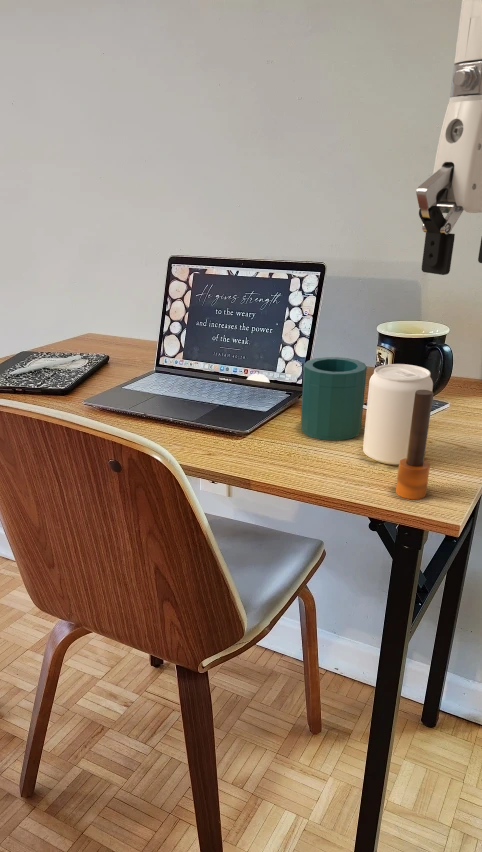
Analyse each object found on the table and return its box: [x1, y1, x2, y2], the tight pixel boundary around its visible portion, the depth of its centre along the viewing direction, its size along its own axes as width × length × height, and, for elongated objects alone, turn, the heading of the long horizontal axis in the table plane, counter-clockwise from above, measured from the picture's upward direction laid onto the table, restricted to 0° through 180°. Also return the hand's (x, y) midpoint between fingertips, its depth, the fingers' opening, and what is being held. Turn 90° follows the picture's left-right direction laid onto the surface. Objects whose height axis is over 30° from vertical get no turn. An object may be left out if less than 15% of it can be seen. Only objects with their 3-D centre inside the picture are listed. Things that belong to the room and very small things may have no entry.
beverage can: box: [362, 363, 434, 466], centre depth 93 cm, size 8×8×12 cm
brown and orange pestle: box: [395, 390, 434, 500], centre depth 82 cm, size 4×4×13 cm
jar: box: [300, 356, 368, 441], centre depth 102 cm, size 9×9×10 cm
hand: (464, 268), depth 75 cm, fingers open, 9 cm apart
